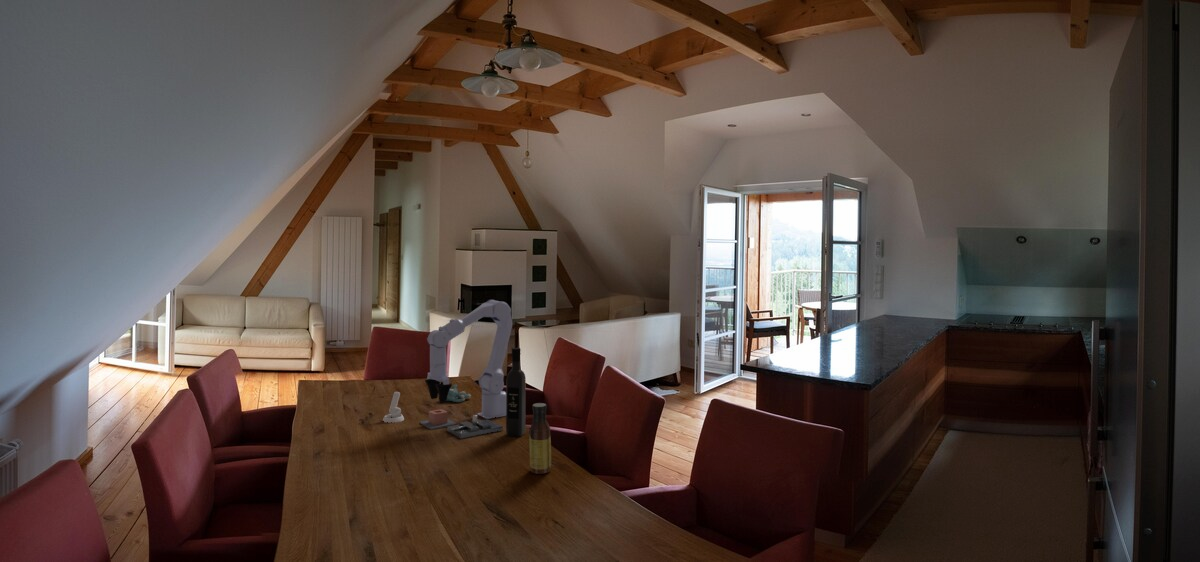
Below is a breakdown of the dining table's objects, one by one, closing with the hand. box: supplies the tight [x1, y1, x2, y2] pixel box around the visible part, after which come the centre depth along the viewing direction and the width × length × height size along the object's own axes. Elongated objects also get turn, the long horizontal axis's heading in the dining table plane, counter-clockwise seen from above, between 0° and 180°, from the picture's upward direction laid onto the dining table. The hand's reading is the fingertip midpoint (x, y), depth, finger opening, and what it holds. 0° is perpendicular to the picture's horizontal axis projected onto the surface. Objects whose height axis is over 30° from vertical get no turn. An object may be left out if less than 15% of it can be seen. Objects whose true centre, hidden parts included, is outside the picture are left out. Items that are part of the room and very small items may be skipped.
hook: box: [382, 391, 405, 424], centre depth 241 cm, size 8×12×7 cm
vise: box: [446, 414, 504, 440], centre depth 226 cm, size 17×11×6 cm, turn 128°
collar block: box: [428, 408, 449, 425], centre depth 234 cm, size 5×5×4 cm
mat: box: [419, 418, 458, 431], centre depth 234 cm, size 10×10×1 cm
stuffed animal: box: [446, 384, 472, 403], centre depth 269 cm, size 11×7×12 cm
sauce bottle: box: [528, 402, 552, 475], centre depth 187 cm, size 6×6×20 cm
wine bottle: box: [505, 347, 527, 438], centre depth 222 cm, size 6×6×30 cm
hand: (438, 400), depth 233 cm, fingers open, 7 cm apart
